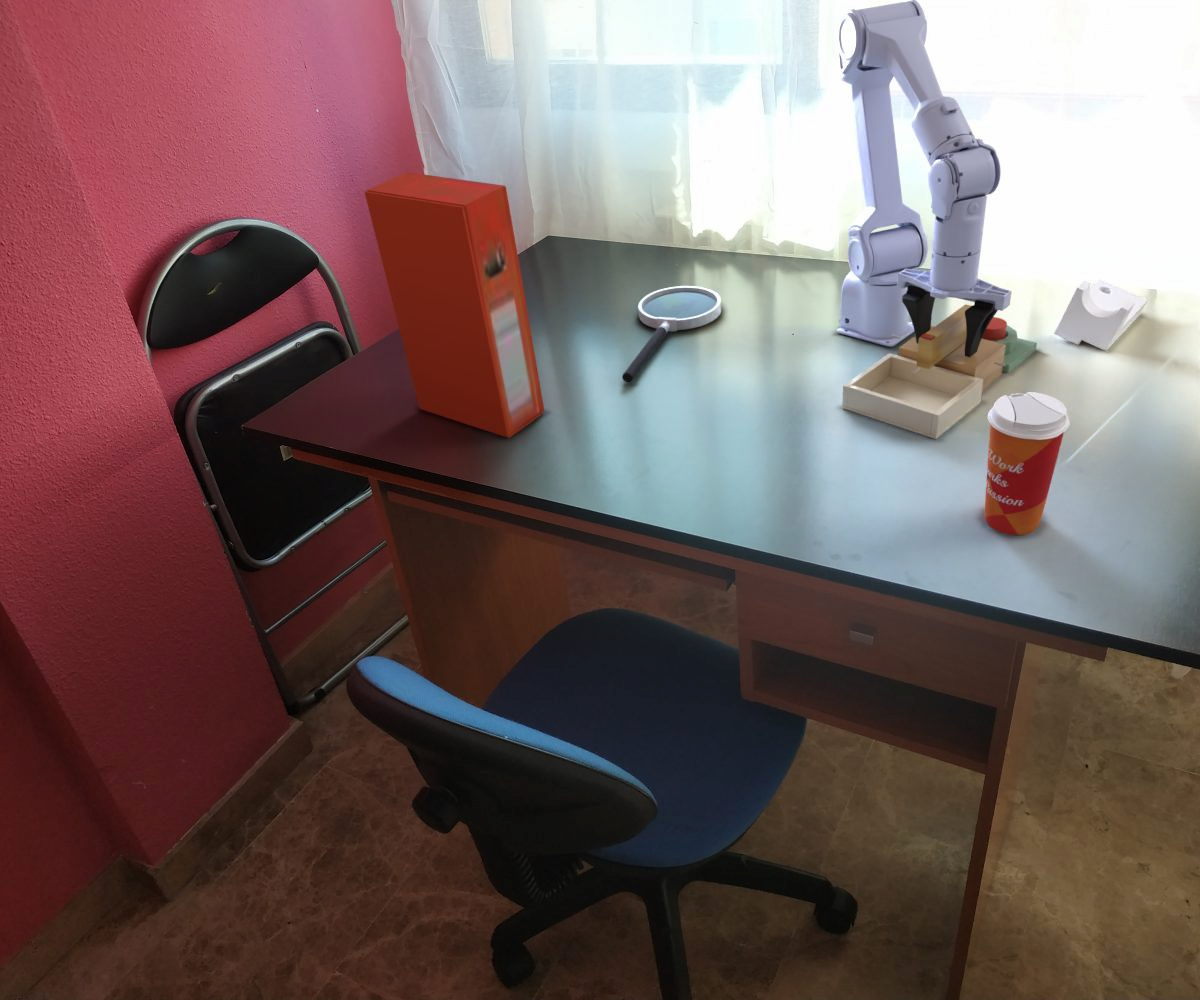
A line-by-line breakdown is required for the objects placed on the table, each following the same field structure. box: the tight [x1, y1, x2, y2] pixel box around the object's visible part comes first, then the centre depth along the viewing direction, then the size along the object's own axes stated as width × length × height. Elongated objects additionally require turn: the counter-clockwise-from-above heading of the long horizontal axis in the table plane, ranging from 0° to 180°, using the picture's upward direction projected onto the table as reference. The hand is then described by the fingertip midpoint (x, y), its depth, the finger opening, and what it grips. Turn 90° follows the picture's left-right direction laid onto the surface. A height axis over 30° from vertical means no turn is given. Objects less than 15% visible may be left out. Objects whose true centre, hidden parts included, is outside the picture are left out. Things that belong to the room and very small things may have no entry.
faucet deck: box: [891, 325, 1006, 391], centre depth 132 cm, size 16×16×5 cm
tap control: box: [993, 325, 1038, 374], centre depth 137 cm, size 10×8×3 cm
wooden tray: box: [841, 352, 983, 440], centre depth 128 cm, size 14×11×3 cm
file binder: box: [363, 171, 545, 439], centre depth 131 cm, size 8×17×32 cm, turn 52°
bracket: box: [1053, 278, 1149, 351], centre depth 138 cm, size 13×7×8 cm, turn 138°
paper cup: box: [984, 391, 1070, 536], centre depth 103 cm, size 8×8×14 cm
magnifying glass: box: [622, 285, 722, 384], centre depth 153 cm, size 13×31×2 cm, turn 158°
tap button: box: [982, 316, 1008, 341], centre depth 136 cm, size 4×4×2 cm
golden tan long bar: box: [917, 304, 972, 369], centre depth 129 cm, size 12×2×4 cm, turn 135°
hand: (946, 347), depth 130 cm, fingers open, 6 cm apart
